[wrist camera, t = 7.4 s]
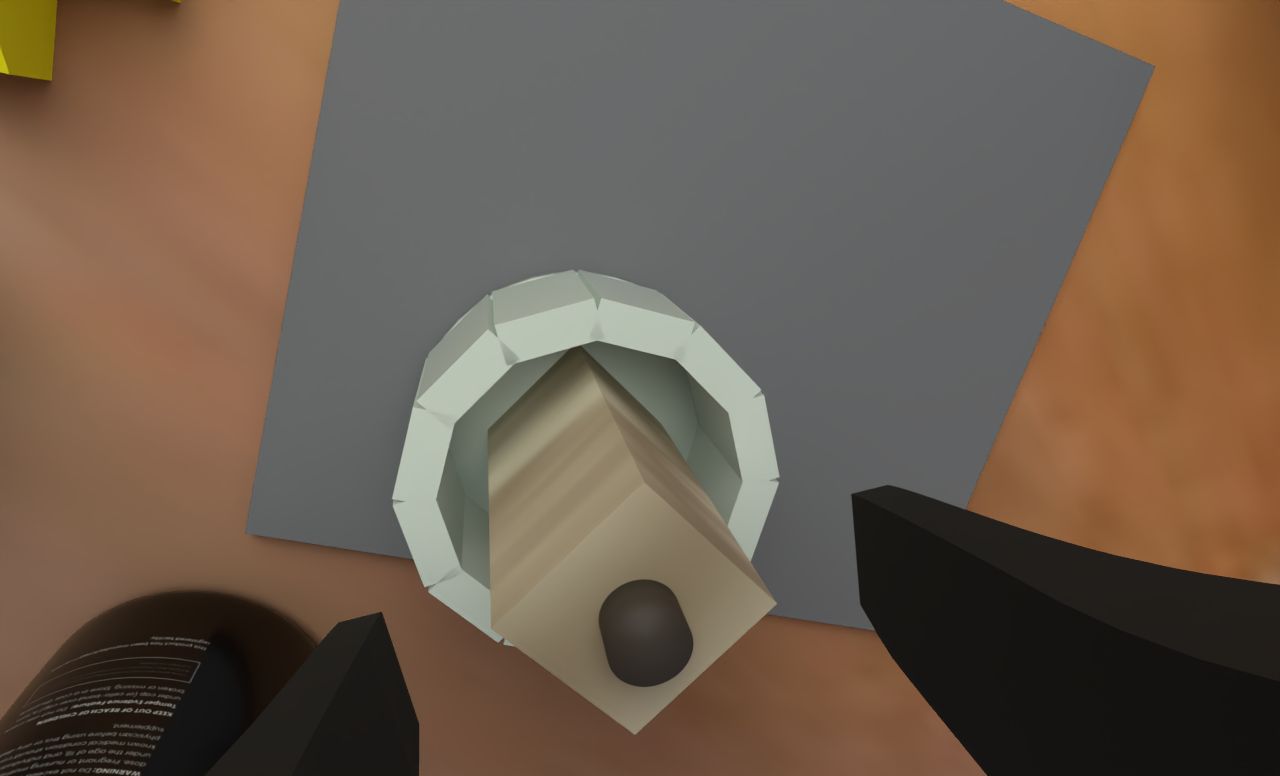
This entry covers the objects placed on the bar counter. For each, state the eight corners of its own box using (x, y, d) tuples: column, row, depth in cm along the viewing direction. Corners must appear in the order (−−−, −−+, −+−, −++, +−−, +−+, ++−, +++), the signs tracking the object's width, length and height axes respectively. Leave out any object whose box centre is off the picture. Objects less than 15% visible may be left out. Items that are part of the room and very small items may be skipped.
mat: (1142, 68, 20) (1155, 66, 19) (903, 628, 24) (910, 636, 23) (389, -255, 15) (387, -266, 14) (249, 525, 19) (244, 532, 18)
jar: (756, 314, 19) (825, 356, 15) (669, 575, 21) (710, 671, 17) (455, 232, 17) (447, 258, 13) (387, 529, 19) (362, 626, 15)
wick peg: (660, 422, 19) (797, 635, 11) (575, 504, 19) (645, 775, 11) (576, 341, 18) (657, 508, 10) (487, 429, 18) (491, 664, 10)
